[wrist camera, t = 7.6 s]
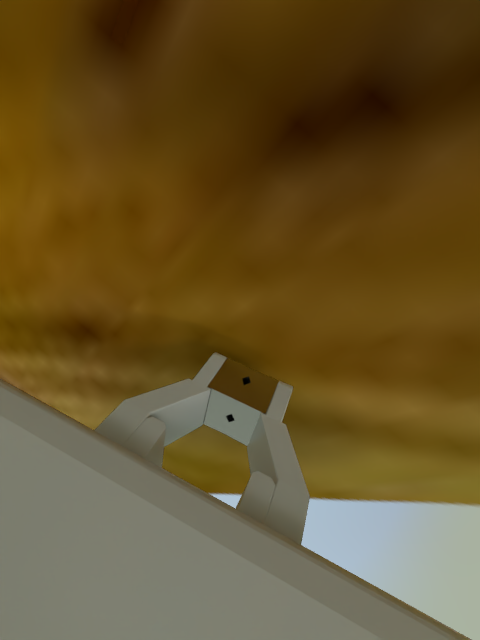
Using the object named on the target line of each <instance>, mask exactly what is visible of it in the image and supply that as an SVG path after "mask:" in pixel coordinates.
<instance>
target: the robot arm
mask: <svg viewBox="0 0 480 640" xmlns="http://www.w3.org/2000/svg"><path fill="white" fill-rule="evenodd" d="M292 390H293V386H291V385H288V384H286V383H284V382H281V381H279V380H276V379H274V378H272V377H270V376H267V375H265V374H263V373H260V372H258V371H256V370H254V369H251V368H249V367H247V366H245V365H243V364H240V363H238V362H236V361H234V360H232V359H230V358H227V357H225V356H223V355H221V354H219V353H217V352H215V353H214V354H212V356H211V357H210V358H209V359H208V361H207V362H206V363H205V365H204V366H203V367H202V368H201V370H200V371H199V372H198V373H197V375H196V376H195V377H194V379H193V380H191V379H189V378H188V379H185V380H182V381H180V382H177V383H174V384H171V385H168V386H165V387H162V388H159V389H156V390H153V391H150V392H147V393H144V394H141V395H138V396H135V397H132V398H129V399H126V400H124V401H123V402H122V403H121V404H120V405H119V406H118V407H117V408H116V409H115V410H114V411H113V412H112V413H111V414H110V415H109V416H108V417H107V418H106V419H105V420H104V421H103V422H102V423H101V424H100V425H99V426H98V427H97V428H96V429H95V430H92V429H91V428H89V427H87V426H85V425H83V424H81V423H80V422H78V421H76V420H74V419H72V418H71V417H69V416H67V415H65V414H63V413H62V412H60V411H58V410H56V409H54V408H53V407H51V406H49V405H47V404H45V403H44V402H42V401H40V400H38V399H36V398H35V397H33V396H31V395H29V394H27V393H26V392H24V391H22V390H20V389H18V388H17V387H15V386H13V385H11V384H9V383H8V382H6V381H4V380H2V379H0V640H471V639H469V638H468V637H466V636H464V635H462V634H460V633H459V632H457V631H455V630H453V629H451V628H450V627H448V626H446V625H444V624H442V623H441V622H439V621H437V620H435V619H433V618H432V617H430V616H428V615H426V614H424V613H423V612H421V611H419V610H417V609H415V608H414V607H412V606H410V605H408V604H406V603H405V602H403V601H401V600H399V599H397V598H395V597H394V596H392V595H390V594H388V593H386V592H384V591H383V590H381V589H379V588H377V587H376V586H374V585H372V584H370V583H368V582H366V581H364V580H363V579H361V578H359V577H358V576H356V575H354V574H352V573H350V572H348V571H347V570H345V569H343V568H341V567H339V566H338V565H336V564H334V563H332V562H330V561H329V560H327V559H325V558H323V557H321V556H320V555H318V554H316V553H314V552H312V551H311V550H309V549H307V548H305V547H303V546H302V545H301V541H302V536H303V531H304V525H305V520H306V515H307V509H308V503H309V498H310V496H309V493H308V490H307V487H306V484H305V481H304V478H303V475H302V472H301V469H300V466H299V463H298V460H297V457H296V454H295V451H294V448H293V445H292V441H291V438H290V435H289V432H288V429H287V426H286V424H284V423H282V420H283V417H284V414H285V411H286V408H287V405H288V402H289V399H290V396H291V393H292ZM203 424H205V425H207V426H209V427H211V428H213V429H215V430H217V431H219V432H222V433H224V434H226V435H228V436H229V437H231V438H233V439H235V440H237V441H239V442H241V443H242V444H244V445H246V446H247V451H248V458H249V466H250V473H251V477H250V479H249V481H248V483H247V485H246V488H245V490H244V492H243V494H242V496H241V498H240V501H239V503H238V505H237V507H236V509H235V508H233V507H231V506H230V505H228V504H226V503H224V502H222V501H221V500H219V499H217V498H215V497H213V496H212V495H210V494H208V493H206V492H204V491H203V490H201V489H199V488H197V487H195V486H193V485H192V484H190V483H188V482H186V481H184V480H183V479H181V478H179V477H177V476H175V475H174V474H172V473H170V472H168V471H166V470H165V469H163V468H162V461H163V452H164V447H165V446H167V445H168V444H170V443H172V442H174V441H175V440H177V439H179V438H181V437H183V436H184V435H186V434H188V433H190V432H191V431H193V430H195V429H197V428H199V427H200V426H202V425H203Z"/></svg>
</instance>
